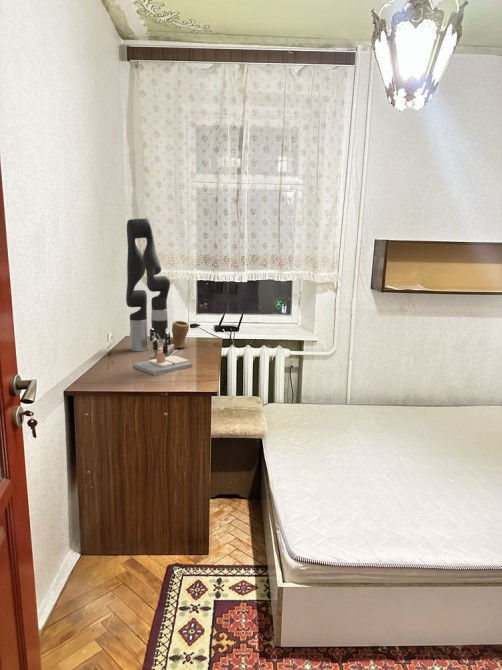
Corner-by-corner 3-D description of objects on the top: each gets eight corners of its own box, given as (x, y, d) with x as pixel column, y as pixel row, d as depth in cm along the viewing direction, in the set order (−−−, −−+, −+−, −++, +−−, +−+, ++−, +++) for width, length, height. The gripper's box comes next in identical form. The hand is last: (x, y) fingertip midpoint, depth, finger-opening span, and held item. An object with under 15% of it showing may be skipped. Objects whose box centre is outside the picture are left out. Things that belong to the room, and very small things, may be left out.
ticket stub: (149, 362, 217) (148, 350, 215) (159, 360, 220) (158, 348, 219) (162, 367, 208) (162, 355, 207) (173, 365, 212) (172, 353, 211)
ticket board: (133, 366, 214) (133, 361, 214) (171, 358, 229) (171, 354, 229) (153, 375, 202) (153, 369, 201) (192, 366, 217) (192, 361, 216)
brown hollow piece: (189, 349, 250) (189, 323, 247) (168, 349, 248) (167, 323, 245) (188, 343, 264) (188, 318, 261) (168, 343, 263) (168, 318, 259)
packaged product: (160, 342, 246) (178, 343, 245) (161, 350, 247) (178, 351, 246) (149, 350, 229) (168, 351, 228) (149, 359, 230) (168, 360, 229)
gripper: (144, 317, 212) (145, 350, 215) (161, 321, 202) (161, 355, 205) (158, 316, 217) (158, 348, 220) (174, 319, 207) (175, 353, 210)
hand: (160, 351), depth 213 cm, fingers open, 8 cm apart
